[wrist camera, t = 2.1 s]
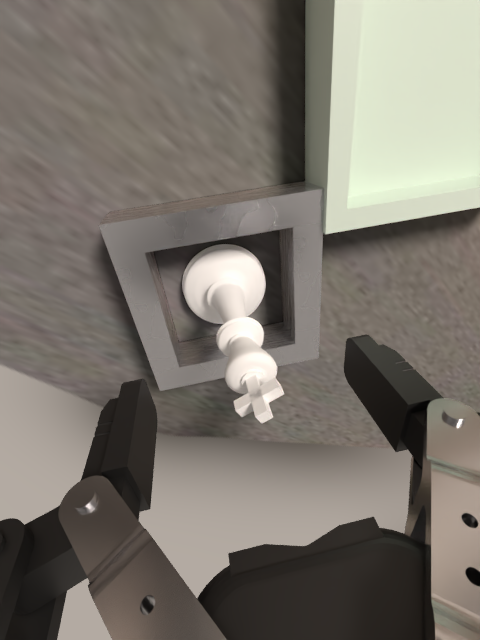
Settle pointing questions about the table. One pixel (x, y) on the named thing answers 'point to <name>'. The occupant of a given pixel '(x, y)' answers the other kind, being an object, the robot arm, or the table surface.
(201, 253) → the chess piece
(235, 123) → the table surface
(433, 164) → the tray
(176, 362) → the collar block
